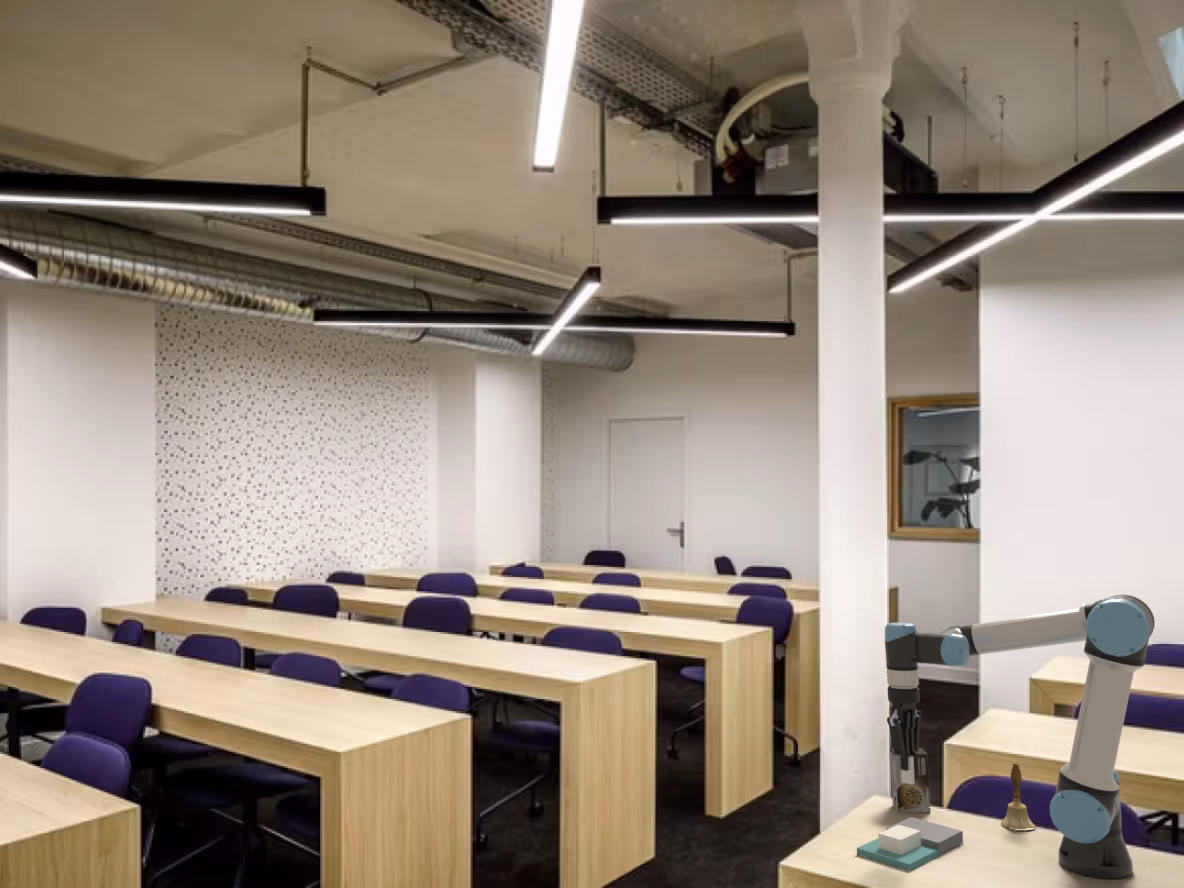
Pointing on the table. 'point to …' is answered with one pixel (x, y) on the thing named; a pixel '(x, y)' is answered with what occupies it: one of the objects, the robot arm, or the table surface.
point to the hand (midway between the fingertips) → (908, 782)
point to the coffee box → (911, 785)
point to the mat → (898, 855)
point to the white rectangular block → (899, 839)
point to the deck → (934, 834)
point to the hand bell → (1017, 805)
